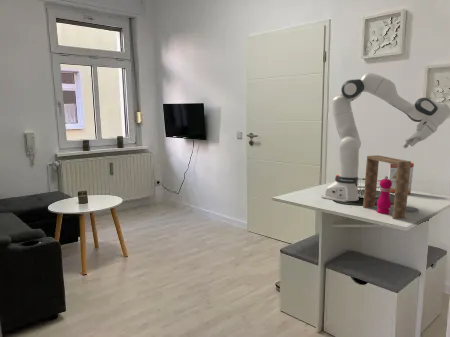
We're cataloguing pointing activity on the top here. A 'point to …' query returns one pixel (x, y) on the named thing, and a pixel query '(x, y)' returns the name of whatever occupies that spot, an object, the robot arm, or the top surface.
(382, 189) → the pepper mill
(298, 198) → the top surface
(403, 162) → the walnut arch
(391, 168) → the cracker box
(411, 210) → the charcoal mat
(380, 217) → the top surface
